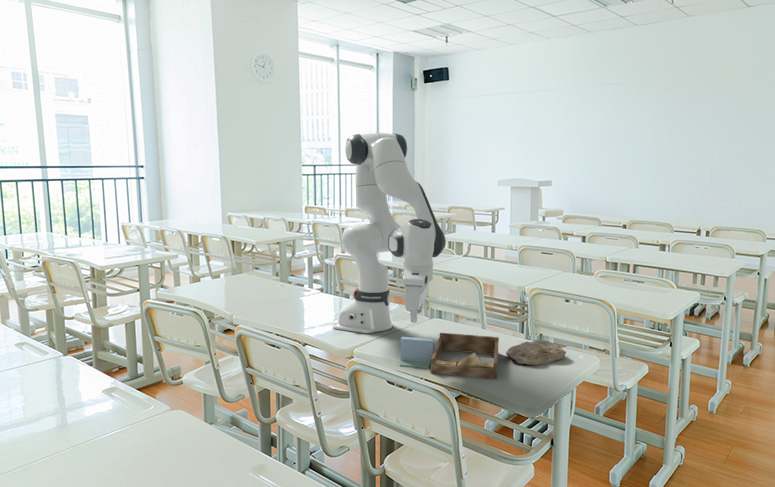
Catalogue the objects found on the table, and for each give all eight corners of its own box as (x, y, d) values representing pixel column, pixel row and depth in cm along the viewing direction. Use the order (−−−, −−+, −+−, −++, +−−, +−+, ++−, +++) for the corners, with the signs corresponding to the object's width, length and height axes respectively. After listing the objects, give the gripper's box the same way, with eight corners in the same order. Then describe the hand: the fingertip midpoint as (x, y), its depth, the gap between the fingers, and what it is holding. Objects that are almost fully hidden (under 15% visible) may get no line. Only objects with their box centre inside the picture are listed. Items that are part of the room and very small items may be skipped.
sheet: (400, 360, 169) (400, 338, 168) (401, 358, 171) (401, 336, 170) (432, 363, 167) (432, 341, 166) (433, 360, 169) (433, 339, 168)
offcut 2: (472, 373, 161) (472, 365, 160) (473, 369, 164) (473, 361, 163) (493, 375, 160) (493, 367, 159) (493, 371, 163) (493, 363, 162)
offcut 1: (435, 371, 162) (435, 363, 162) (436, 367, 165) (436, 360, 165) (455, 373, 161) (455, 365, 160) (456, 369, 164) (456, 361, 163)
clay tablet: (522, 371, 163) (572, 359, 172) (522, 355, 163) (572, 344, 171) (493, 357, 176) (541, 347, 185) (493, 342, 175) (541, 333, 184)
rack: (430, 373, 160) (431, 355, 159) (439, 348, 181) (440, 332, 181) (496, 379, 156) (497, 360, 155) (498, 353, 177) (498, 337, 176)
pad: (399, 365, 166) (399, 364, 166) (405, 355, 174) (405, 354, 174) (429, 368, 164) (429, 367, 164) (433, 358, 172) (433, 356, 172)
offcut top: (461, 373, 160) (457, 366, 160) (462, 369, 163) (457, 362, 163) (478, 363, 159) (474, 356, 159) (479, 359, 162) (474, 352, 162)
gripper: (413, 265, 176) (412, 307, 178) (401, 280, 156) (400, 326, 158) (433, 267, 174) (431, 308, 177) (423, 282, 155) (421, 328, 157)
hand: (416, 317), depth 167 cm, fingers open, 8 cm apart
